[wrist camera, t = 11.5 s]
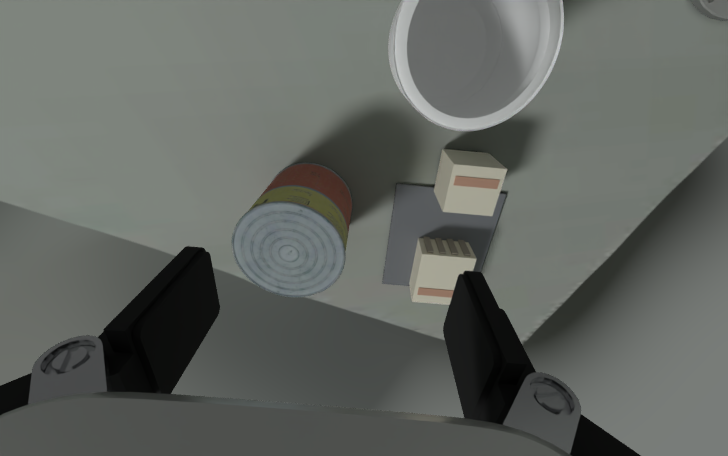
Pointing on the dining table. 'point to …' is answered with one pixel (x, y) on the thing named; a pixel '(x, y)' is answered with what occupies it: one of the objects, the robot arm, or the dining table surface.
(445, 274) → the cream striped box
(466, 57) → the jar
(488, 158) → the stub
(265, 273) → the canned food
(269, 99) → the dining table surface
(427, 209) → the mat
